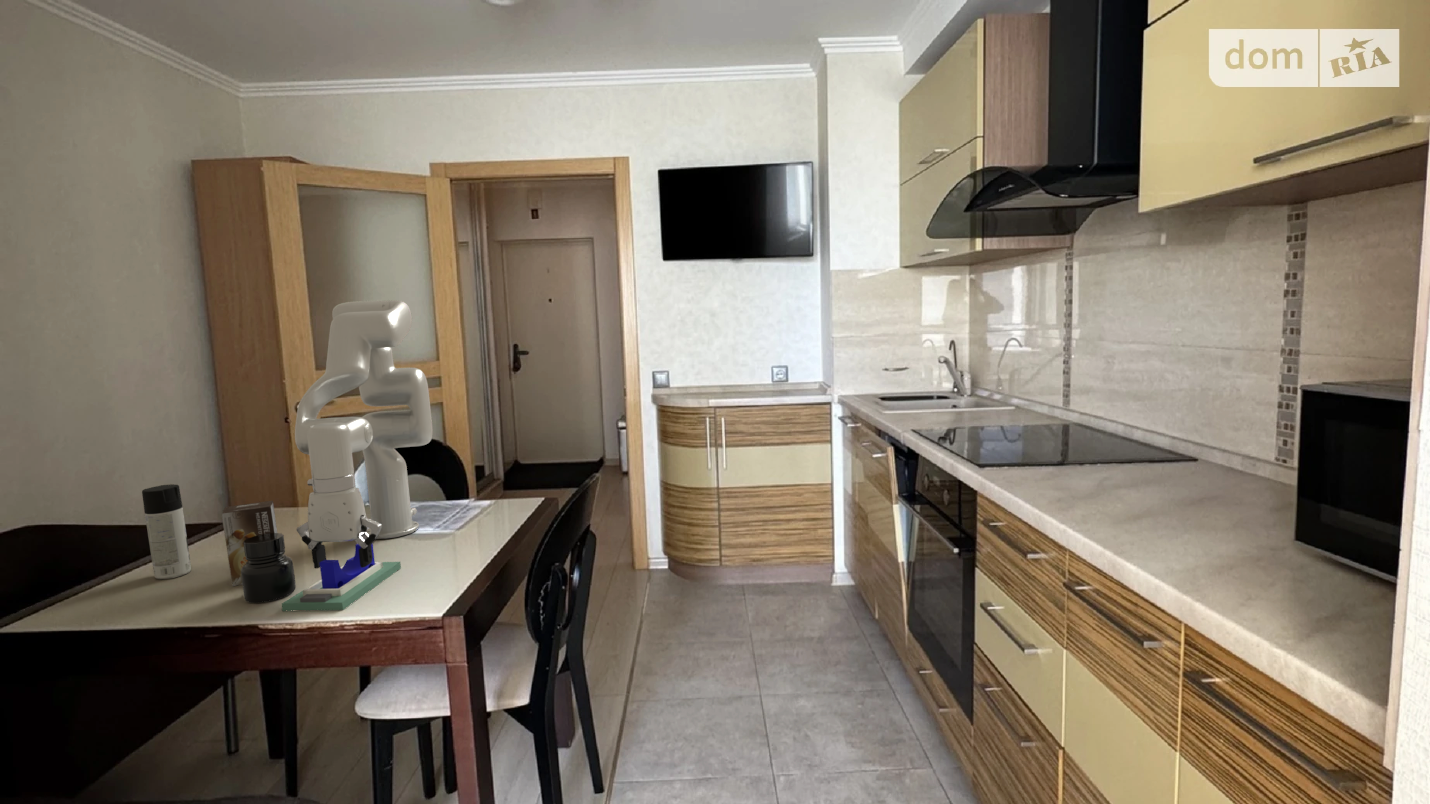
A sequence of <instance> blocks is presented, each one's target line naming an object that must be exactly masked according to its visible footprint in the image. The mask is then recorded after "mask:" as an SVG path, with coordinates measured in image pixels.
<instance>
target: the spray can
mask: <svg viewBox="0 0 1430 804" xmlns="http://www.w3.org/2000/svg"><path fill="white" fill-rule="evenodd" d="M141 495H142V501H143V502H142V503H143V510H144V516H145V517H144V518H145V524H146V529H147V537H148V544H149V550H150V555H151V556H150V557H151V562H152V563H151V565H152V569H153V570H152V571H153V575H154V578H155V579H157V580H168V579H169V580H170V579H174V578H179V577H182V576H185V575H187V574H189V573H190V572H191V570H192V566H191V565H192V564H191V557H190V550H189V542H188V537H187V536H188V535H187V529H186V521H185V514H184V509H183V507H184V506H183V503H182V496H181V490H180V485H178V484H171V483H170V484H163V485H156V486H152V487H147V488H144V489H143V490H141Z"/></svg>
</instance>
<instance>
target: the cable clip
mask: <svg viewBox="0 0 1430 804" xmlns="http://www.w3.org/2000/svg"><path fill="white" fill-rule="evenodd" d="M360 548H361V546H360V545H359V544H358V543H356V544H355V548H354V550H355V551H354V556H352V557H350V558H349V559H346V561H345V563H344V564H343V565H344V566H343V565H342V566H343V568H342V569H341V568H340V567H341V566H340V561H339V559H326V560H323V561H321V562H320V567H319V569H320V577H321V579H322V588H323V589H339V588H340V587H342V586H343V585H345V584H346V583H348V582H349V581H351V580H352V579H354V578H355V577H357V576H358V575H360V574H361V573H363V572H364V571H366V570H367V569H369V568H370V567H372V566H373V565H375V562H376V560H375V554H374V553H375V551H374V543H373V544H371V548H372V557H373V558H372V562H371V563H370V564H369V565H367V566H366V567H360V559H359V549H360ZM321 579H320V580H321Z"/></svg>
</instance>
